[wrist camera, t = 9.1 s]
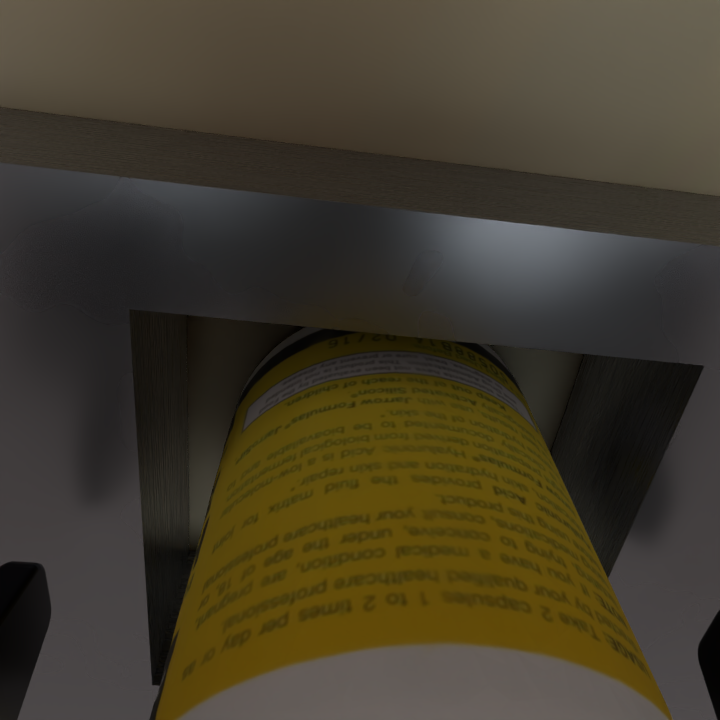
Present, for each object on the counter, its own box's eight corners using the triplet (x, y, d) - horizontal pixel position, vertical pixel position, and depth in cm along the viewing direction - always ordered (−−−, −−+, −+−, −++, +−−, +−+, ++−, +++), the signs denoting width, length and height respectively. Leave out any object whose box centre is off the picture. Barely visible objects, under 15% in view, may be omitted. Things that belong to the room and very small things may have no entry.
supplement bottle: (183, 352, 11) (-425, 1653, 2) (485, 256, 10) (1318, 1617, 2) (295, 560, 13) (217, 1539, 5) (543, 495, 13) (976, 1507, 4)
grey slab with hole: (962, 227, 10) (1183, 300, 7) (716, 630, 15) (798, 761, 12) (-222, 79, 8) (-473, 107, 6) (-70, 584, 13) (-170, 723, 11)
